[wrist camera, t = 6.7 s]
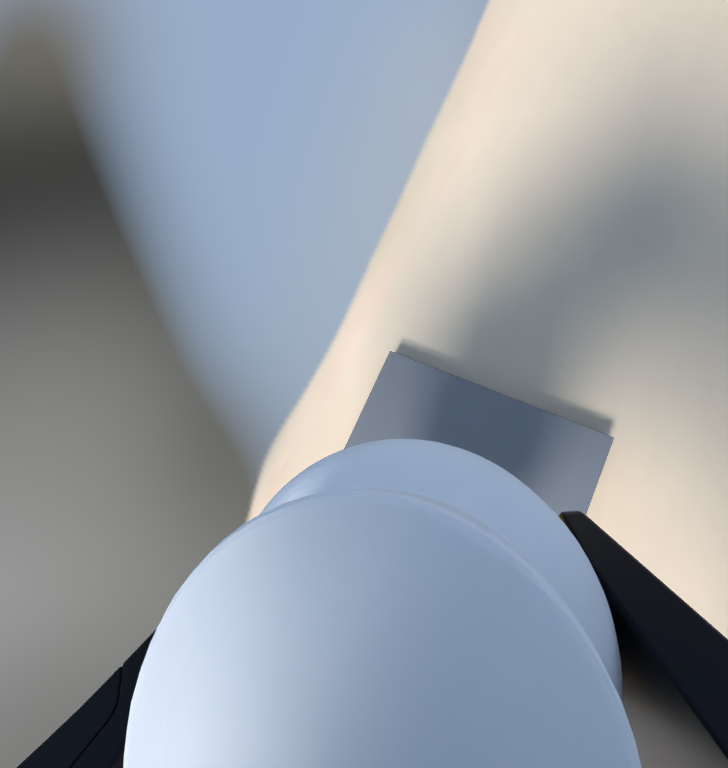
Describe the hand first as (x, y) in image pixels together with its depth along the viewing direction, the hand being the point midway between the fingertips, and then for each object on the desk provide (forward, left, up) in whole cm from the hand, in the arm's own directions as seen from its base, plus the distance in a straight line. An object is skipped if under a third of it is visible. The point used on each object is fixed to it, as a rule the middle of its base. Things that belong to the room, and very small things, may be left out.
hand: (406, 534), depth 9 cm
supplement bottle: (-1, 0, -7) cm, 7 cm away
